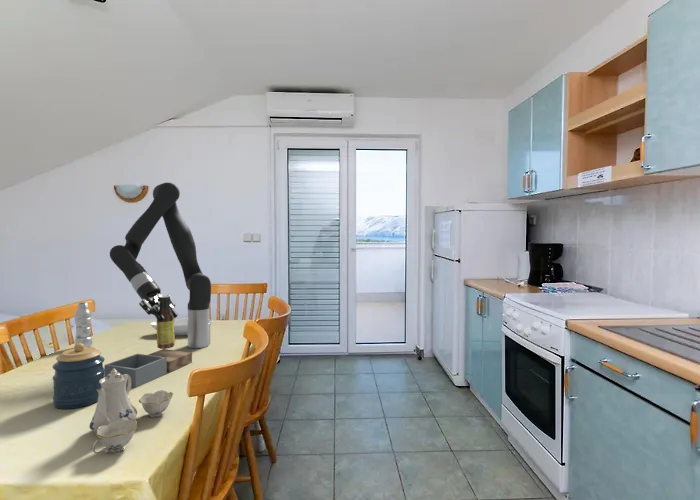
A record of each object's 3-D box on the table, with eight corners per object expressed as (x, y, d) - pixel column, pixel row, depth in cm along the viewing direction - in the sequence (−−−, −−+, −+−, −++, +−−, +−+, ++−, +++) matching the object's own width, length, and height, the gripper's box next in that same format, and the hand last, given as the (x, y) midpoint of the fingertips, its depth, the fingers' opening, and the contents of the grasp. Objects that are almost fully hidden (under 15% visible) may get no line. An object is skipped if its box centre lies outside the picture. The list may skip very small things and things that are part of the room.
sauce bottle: (178, 346, 150) (178, 296, 149) (164, 350, 144) (164, 298, 144) (166, 343, 153) (166, 294, 152) (152, 347, 147) (152, 296, 146)
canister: (48, 413, 108) (47, 352, 107) (58, 396, 119) (57, 340, 119) (102, 404, 114) (102, 346, 113) (107, 389, 125) (106, 336, 125)
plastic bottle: (83, 350, 166) (83, 304, 165) (70, 349, 167) (70, 303, 166) (96, 346, 172) (95, 302, 171) (83, 345, 174) (83, 301, 173)
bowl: (214, 328, 207) (214, 317, 207) (211, 336, 193) (211, 324, 193) (153, 331, 200) (153, 320, 199) (146, 339, 185) (146, 326, 185)
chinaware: (128, 467, 87) (136, 395, 86) (52, 461, 85) (59, 388, 85) (176, 411, 114) (182, 356, 114) (119, 406, 113) (125, 351, 113)
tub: (137, 369, 144) (137, 353, 144) (166, 373, 140) (166, 357, 140) (104, 382, 131) (104, 365, 131) (135, 387, 127) (135, 369, 127)
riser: (163, 358, 157) (163, 348, 157) (191, 362, 153) (191, 352, 152) (139, 368, 145) (139, 357, 145) (169, 372, 141) (169, 361, 141)
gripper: (135, 282, 143) (160, 316, 140) (164, 278, 157) (188, 309, 154) (124, 295, 145) (149, 329, 142) (154, 290, 159) (177, 321, 155)
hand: (169, 318), depth 148 cm, fingers closed on sauce bottle, 6 cm apart
